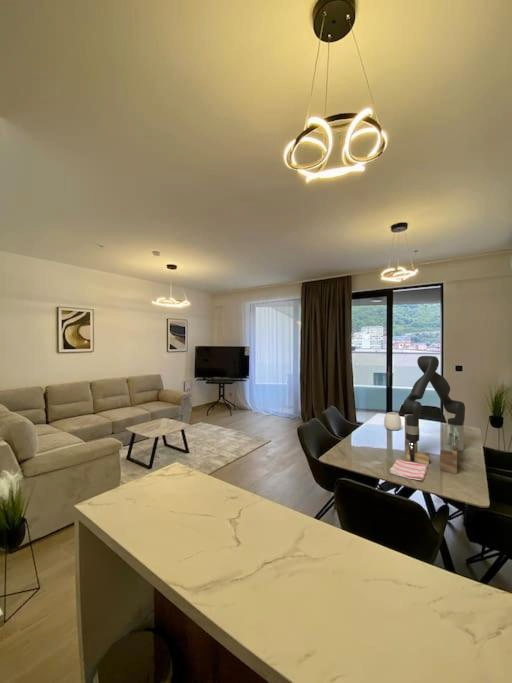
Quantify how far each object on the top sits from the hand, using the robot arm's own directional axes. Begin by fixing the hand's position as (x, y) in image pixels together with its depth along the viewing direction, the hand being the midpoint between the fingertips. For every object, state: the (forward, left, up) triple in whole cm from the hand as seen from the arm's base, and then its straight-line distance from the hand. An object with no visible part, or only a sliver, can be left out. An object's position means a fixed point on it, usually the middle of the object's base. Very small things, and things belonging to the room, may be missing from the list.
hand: (412, 459), depth 187 cm
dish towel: (+18, 0, -1) cm, 18 cm away
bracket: (-13, +20, 0) cm, 24 cm away
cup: (-64, -21, -1) cm, 67 cm away
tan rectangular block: (0, +3, 0) cm, 3 cm away
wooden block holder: (+3, +19, 0) cm, 19 cm away
